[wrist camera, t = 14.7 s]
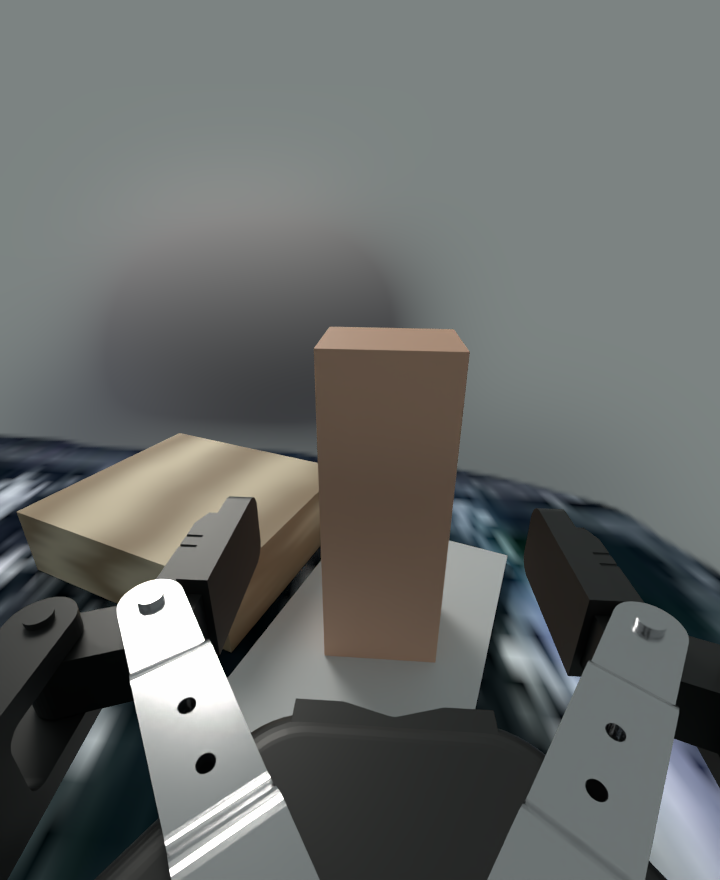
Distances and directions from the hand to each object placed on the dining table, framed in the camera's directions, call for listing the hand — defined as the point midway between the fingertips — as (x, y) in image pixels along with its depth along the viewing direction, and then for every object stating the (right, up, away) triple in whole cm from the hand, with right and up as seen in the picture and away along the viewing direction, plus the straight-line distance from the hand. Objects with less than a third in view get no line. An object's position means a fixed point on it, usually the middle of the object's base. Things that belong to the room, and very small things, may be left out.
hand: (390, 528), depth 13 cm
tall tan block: (0, -6, +9) cm, 11 cm away
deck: (-11, -4, +15) cm, 19 cm away
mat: (0, -7, +9) cm, 11 cm away
